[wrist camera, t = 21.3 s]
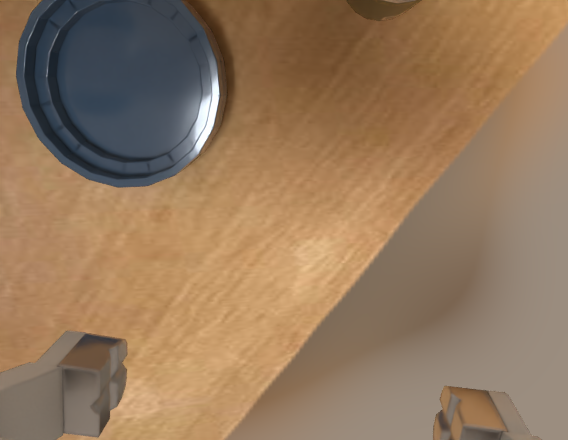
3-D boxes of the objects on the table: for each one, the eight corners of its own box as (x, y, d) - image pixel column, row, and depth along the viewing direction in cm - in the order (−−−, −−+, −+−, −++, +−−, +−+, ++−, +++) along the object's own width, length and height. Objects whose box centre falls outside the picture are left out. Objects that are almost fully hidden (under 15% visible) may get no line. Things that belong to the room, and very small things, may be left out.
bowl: (2, 71, 38) (-24, 71, 36) (133, -68, 35) (115, -80, 32) (132, 213, 41) (117, 224, 38) (267, 97, 37) (262, 99, 34)
